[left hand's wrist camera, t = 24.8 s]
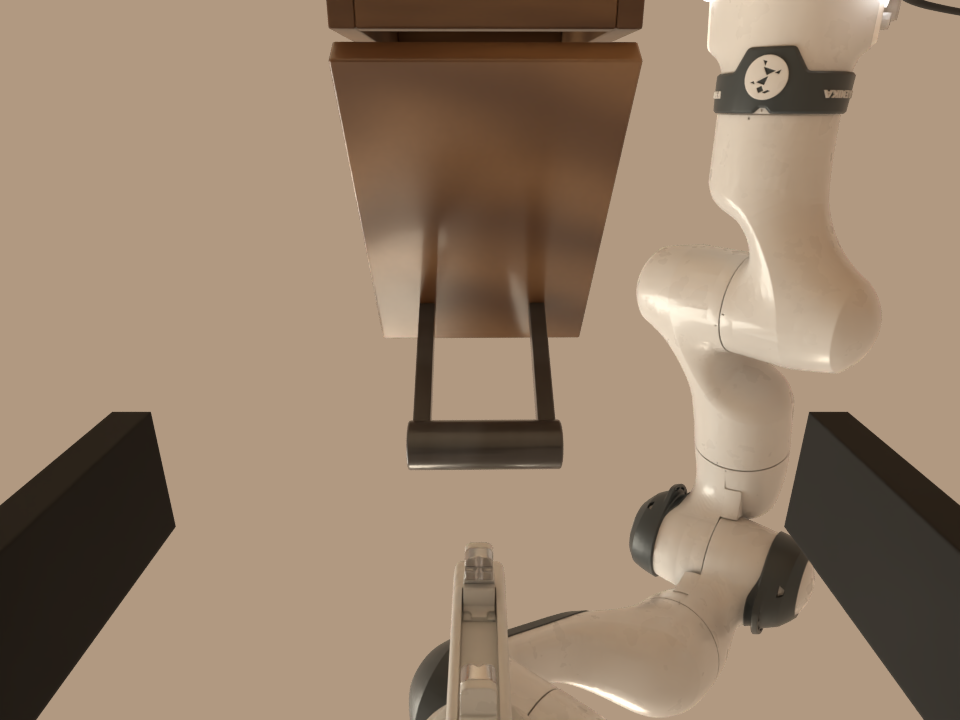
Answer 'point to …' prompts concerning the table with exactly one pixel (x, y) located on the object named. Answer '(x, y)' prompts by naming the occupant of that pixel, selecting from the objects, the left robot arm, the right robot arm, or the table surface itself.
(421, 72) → the lid
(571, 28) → the chest
